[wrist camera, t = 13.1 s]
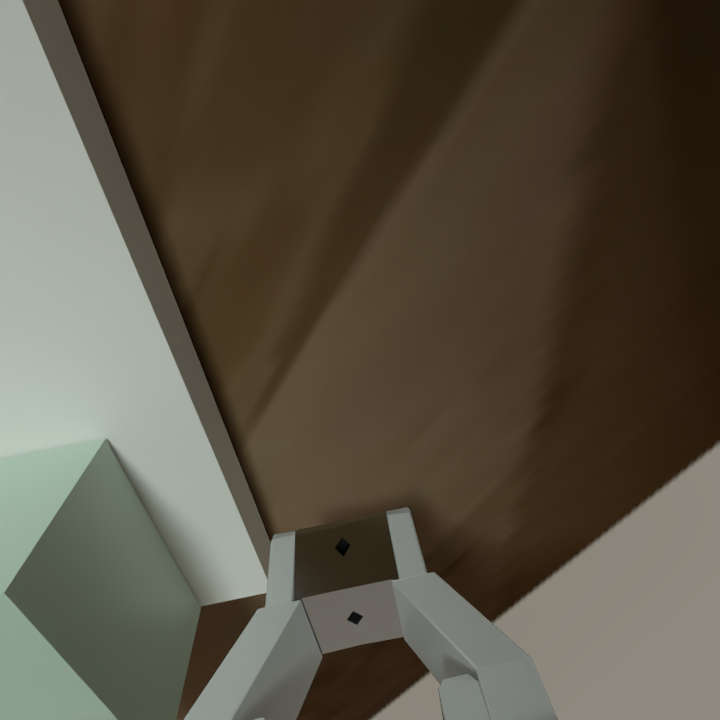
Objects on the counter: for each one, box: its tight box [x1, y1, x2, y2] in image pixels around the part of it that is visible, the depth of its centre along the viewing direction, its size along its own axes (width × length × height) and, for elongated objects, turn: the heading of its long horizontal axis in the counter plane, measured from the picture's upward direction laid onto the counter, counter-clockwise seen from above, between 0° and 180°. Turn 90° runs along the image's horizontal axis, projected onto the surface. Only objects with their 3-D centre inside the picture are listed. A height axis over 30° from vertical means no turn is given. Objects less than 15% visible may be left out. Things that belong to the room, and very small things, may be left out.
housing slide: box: [0, 439, 201, 720], centre depth 9 cm, size 6×3×4 cm, turn 9°
